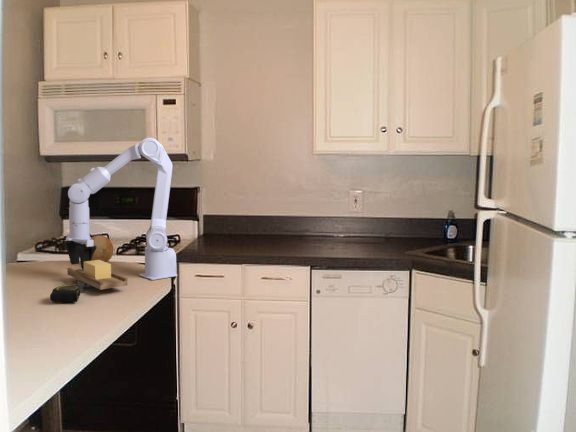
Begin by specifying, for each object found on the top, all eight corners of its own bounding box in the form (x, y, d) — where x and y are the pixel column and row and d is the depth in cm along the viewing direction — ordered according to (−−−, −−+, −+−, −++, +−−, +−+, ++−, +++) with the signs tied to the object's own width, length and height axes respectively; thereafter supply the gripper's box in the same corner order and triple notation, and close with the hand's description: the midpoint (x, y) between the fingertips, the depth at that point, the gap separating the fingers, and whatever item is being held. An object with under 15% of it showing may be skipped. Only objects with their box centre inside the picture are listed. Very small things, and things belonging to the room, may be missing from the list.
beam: (93, 272, 167) (92, 264, 167) (127, 287, 152) (127, 278, 151) (67, 276, 161) (67, 268, 161) (100, 291, 146) (100, 282, 146)
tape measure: (49, 305, 137) (48, 291, 137) (56, 298, 144) (55, 284, 144) (76, 305, 138) (76, 291, 138) (82, 298, 145) (82, 284, 145)
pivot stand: (109, 280, 164) (109, 274, 164) (122, 285, 158) (122, 279, 158) (70, 286, 155) (70, 280, 155) (82, 292, 150) (82, 285, 149)
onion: (96, 268, 179) (95, 239, 178) (78, 264, 185) (77, 235, 184) (119, 263, 187) (119, 235, 186) (101, 259, 193) (101, 232, 192)
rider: (99, 272, 160) (99, 259, 160) (111, 277, 155) (110, 264, 154) (83, 275, 157) (83, 261, 156) (95, 279, 151) (95, 266, 151)
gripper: (56, 220, 165) (57, 263, 166) (76, 226, 154) (77, 272, 156) (79, 219, 169) (79, 261, 171) (99, 224, 159) (100, 269, 161)
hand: (80, 266), depth 164 cm, fingers open, 7 cm apart
